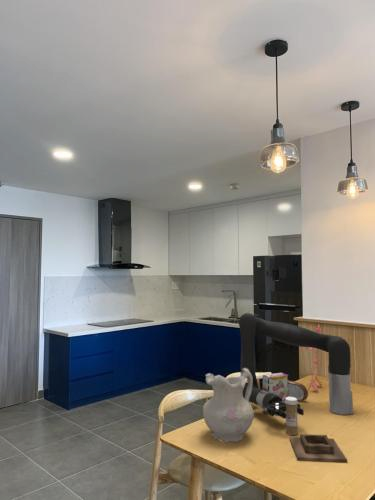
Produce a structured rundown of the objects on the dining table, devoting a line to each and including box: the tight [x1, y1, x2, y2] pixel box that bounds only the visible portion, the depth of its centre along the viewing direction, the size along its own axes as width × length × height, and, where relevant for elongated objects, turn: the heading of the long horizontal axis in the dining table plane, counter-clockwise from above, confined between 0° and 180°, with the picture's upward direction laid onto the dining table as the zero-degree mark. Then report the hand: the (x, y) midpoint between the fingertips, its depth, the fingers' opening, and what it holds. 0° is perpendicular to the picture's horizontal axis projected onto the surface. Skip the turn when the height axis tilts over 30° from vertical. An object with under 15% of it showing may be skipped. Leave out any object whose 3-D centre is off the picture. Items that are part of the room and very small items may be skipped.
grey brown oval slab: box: [288, 379, 309, 402], centre depth 188 cm, size 15×3×8 cm, turn 40°
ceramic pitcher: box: [202, 368, 255, 443], centre depth 146 cm, size 22×20×25 cm
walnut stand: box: [289, 433, 348, 463], centre depth 132 cm, size 16×16×4 cm
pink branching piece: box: [305, 324, 323, 393], centre depth 203 cm, size 15×26×35 cm, turn 149°
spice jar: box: [285, 397, 299, 436], centre depth 147 cm, size 5×5×13 cm
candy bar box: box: [262, 372, 289, 415], centre depth 171 cm, size 11×5×16 cm, turn 114°
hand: (294, 414), depth 145 cm, fingers open, 8 cm apart
